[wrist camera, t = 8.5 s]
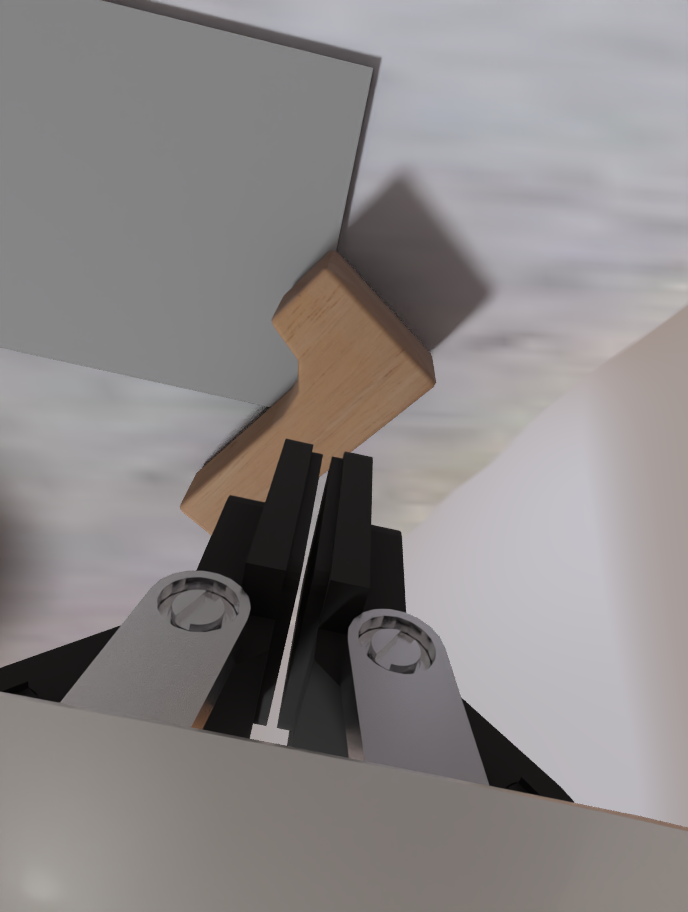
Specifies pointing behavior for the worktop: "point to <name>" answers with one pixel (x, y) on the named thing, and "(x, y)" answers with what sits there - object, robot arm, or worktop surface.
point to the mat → (165, 191)
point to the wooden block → (321, 385)
